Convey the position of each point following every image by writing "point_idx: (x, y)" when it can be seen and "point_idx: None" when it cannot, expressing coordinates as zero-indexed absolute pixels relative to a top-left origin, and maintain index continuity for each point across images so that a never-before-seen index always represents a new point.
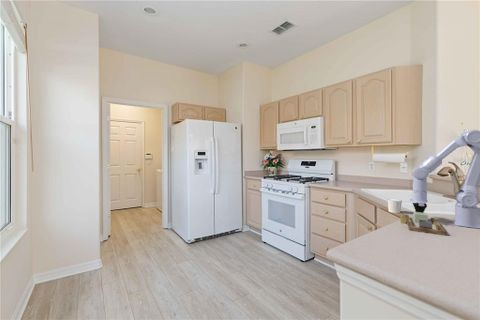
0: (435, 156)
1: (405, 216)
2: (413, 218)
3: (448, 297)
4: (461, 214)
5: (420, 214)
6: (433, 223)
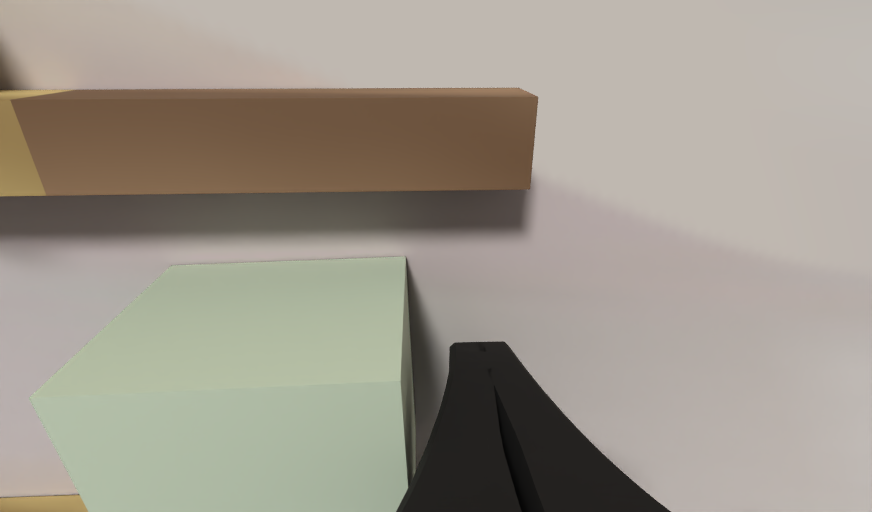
0: None
1: (271, 99)
2: (391, 269)
3: None
4: None
5: (94, 503)
6: None
